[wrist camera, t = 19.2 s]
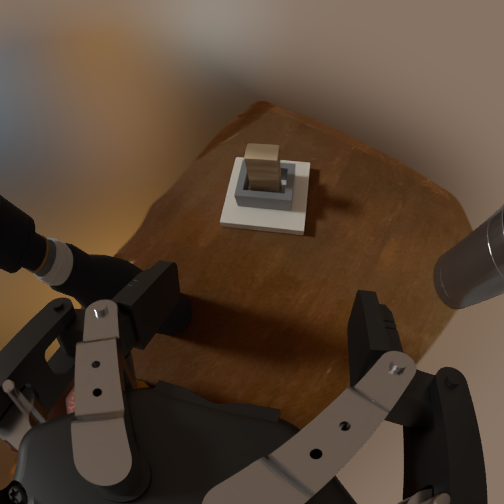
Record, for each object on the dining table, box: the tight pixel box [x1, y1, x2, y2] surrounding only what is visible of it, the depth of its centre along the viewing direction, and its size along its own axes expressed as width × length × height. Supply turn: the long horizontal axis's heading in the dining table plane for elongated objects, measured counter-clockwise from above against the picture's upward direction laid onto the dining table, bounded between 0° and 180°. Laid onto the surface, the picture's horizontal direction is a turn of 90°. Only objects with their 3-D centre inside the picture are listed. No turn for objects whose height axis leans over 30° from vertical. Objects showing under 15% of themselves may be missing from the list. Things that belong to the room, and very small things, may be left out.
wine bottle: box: [0, 195, 191, 335], centre depth 24 cm, size 6×6×30 cm
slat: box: [244, 144, 282, 193], centre depth 36 cm, size 2×4×9 cm, turn 80°
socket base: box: [220, 157, 310, 235], centre depth 40 cm, size 12×12×4 cm
